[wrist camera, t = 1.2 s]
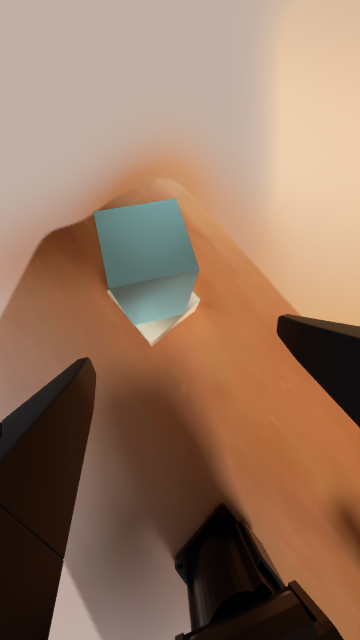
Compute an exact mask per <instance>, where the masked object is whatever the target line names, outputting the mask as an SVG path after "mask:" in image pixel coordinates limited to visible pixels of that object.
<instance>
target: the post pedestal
mask: <svg viewBox="0 0 360 640" xmlns="http://www.w3.org/2000/svg"><path fill="white" fill-rule="evenodd" d="M107 293H108V294H109V296H110V297H111V298H112V300H113V301H114V302H115V304H116V305H117V306H118V307H119V309H120V310H121V311H122V312H123V313H124V314H125V312H124V311H123V309H122V308H121V306H120V305H119V303H118V302H117V300H116V299H115V297H114V296H113V294H112V293H111V291H110V290H108V291H107ZM199 301H200V299H199V298H198V297H197V296H196V295H195V294H194V293H193V291H192V294H191V297H190V300H189V303H188V306H187V309H186V313H185V314H181V315H177V316H172V317H168V318H164V319H160V320H156V321H152V322H148V323H143V324H139V325H135V328H136V329H137V330H138V331H139V332H140V334H141V335H142V336H143V337H144V338H145V340H146V341H147V342H148V343H149V344H150V346H151V347H152V346H153V345H154V344H155V343H156V342H158V341H159V340H160V339H161V338H162V337H164V336H165V335H166V334H167V333H168V332H170V331H171V330H172V329H173V328H174V327H176V326H177V325H178V324H179V323H180V322H182V321H183V320H184V319H185V318H186V317H188V316H189V315H190V314H191V313H192V312H194V311H195V310H196V308H197V306H198V303H199ZM125 316H126V317H127V315H126V314H125ZM127 318H128V317H127ZM128 319H129V318H128ZM129 320H130V319H129ZM130 322H131V321H130ZM131 323H132V322H131Z"/></svg>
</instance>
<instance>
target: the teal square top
mask: <svg viewBox="0 0 360 640" xmlns="http://www.w3.org/2000/svg"><path fill="white" fill-rule="evenodd" d="M94 217H95V222H96V227H97V232H98V237H99V243H100V248H101V253H102V258H103V263H104V268H105V273H106V278H107V284H108V289H109V290H110V291H111V293H112V294H113V296H114V297H115V299H116V300H117V302H118V303H119V305H120V306H121V308H122V309H123V311H124V312H125V314H126V315H127V317H128V318H129V319H130V321H131V322H132V324H133V325H134V326H135V325H139V324H143V323H148V322H152V321H156V320H160V319H164V318H168V317H172V316H177V315H181V314H185V313H186V309H187V306H188V303H189V300H190V297H191V294H192V291H193V287H194V284H195V281H196V278H197V275H198V272H199V267H198V264H197V261H196V258H195V255H194V252H193V248H192V245H191V242H190V239H189V236H188V233H187V230H186V227H185V224H184V221H183V218H182V215H181V212H180V209H179V206H178V202H177V199H170V200H163V201H157V202H151V203H144V204H138V205H132V206H125V207H119V208H113V209H107V210H100V211H94Z"/></svg>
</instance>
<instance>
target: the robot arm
mask: <svg viewBox="0 0 360 640" xmlns="http://www.w3.org/2000/svg"><path fill="white" fill-rule="evenodd" d="M277 334H278V336H279V338H280V339H281V340H282V341H283V343H284V344H285V345H286V347H287V348H288V349H289V351H290V352H291V353H292V355H293V356H294V357H295V358H296V360H297V361H298V362H299V363H300V364H301V365H302V366H303V367H304V368H305V369H306V371H307V372H308V373H309V374H310V375H311V376H312V377H313V378H314V379H315V380H316V381H317V382H318V383H319V385H320V386H321V387H322V388H323V389H324V390H325V391H326V392H327V393H328V394H329V395H330V396H331V397H332V398H333V400H334V401H335V402H336V403H337V404H338V405H339V406H340V407H341V408H342V409H343V410H344V411H345V412H346V414H347V415H348V416H349V417H350V418H351V419H352V420H353V421H354V422H355V423H356V424H357V425H358V426H359V428H360V327H359V326H353V325H347V324H342V323H335V322H330V321H324V320H318V319H313V318H306V317H301V316H295V315H289V314H286V315H281V316H279V318H278V323H277ZM95 386H96V372H95V370H94V367H93V365H92V362H91V360H90V359H89V358H88V357H86V358H81V359H78V360H77V361H76V362H74V363H73V364H72V365H71V366H69V367H68V368H67V369H66V370H64V371H63V372H62V373H61V374H59V375H58V376H57V377H56V378H54V379H53V380H52V381H51V382H49V383H48V384H47V385H46V386H44V387H43V388H42V389H41V390H39V391H38V392H37V393H36V394H35V395H33V396H32V397H31V398H30V399H28V400H27V401H26V402H25V403H23V404H22V405H21V406H20V407H18V408H17V409H16V410H15V411H13V412H12V413H11V414H10V415H8V416H7V417H6V418H5V419H3V420H2V423H1V422H0V640H48V637H49V632H50V626H51V621H52V617H53V611H54V607H55V601H56V597H57V592H58V586H59V581H60V576H61V571H62V566H63V559H64V555H65V550H66V545H67V540H68V535H69V530H70V525H71V520H72V515H73V510H74V505H75V500H76V495H77V490H78V485H79V480H80V475H81V470H82V465H83V460H84V455H85V450H86V445H87V440H88V435H89V430H90V425H91V420H92V415H93V409H94V399H95ZM223 509H225V512H224V513H221V511H222V510H223ZM180 561H181V562H182V564H181V565H180V564H178V562H180ZM175 569H176V571H177V572H178V574H179V575H180V577H181V578H182V579H183V581H184V582H185V584H186V585H187V591H188V601H189V612H190V622H191V632H189V633H187V634H185V635H184V633H181V634H179V635H177V636H175V640H343V638H342V636H341V635H340V633H339V632H338V630H337V629H336V627H335V626H334V625H333V623H332V622H331V621H330V620H329V618H328V617H327V616H326V615H325V614H324V613H323V612H322V610H321V609H320V608H319V607H318V606H317V605H316V604H315V602H314V601H313V600H312V599H311V598H310V597H309V596H308V594H307V593H306V592H305V591H304V590H303V589H302V588H301V586H300V585H299V584H298V583H297V582H296V581H295V580H294V581H292V582H289V583H288V586H287V587H286V586H285V584H284V582H283V581H282V579H281V577H280V575H279V573H278V572H277V570H276V568H275V566H274V565H273V563H272V561H271V559H270V557H269V556H268V554H267V552H266V550H265V549H264V547H263V545H262V543H261V542H260V541H259V540H258V538H257V537H256V536H255V534H254V533H253V532H252V531H251V529H250V528H249V527H248V526H247V524H246V523H245V522H244V521H243V520H240V521H238V520H237V519H236V517H235V516H234V515H233V513H232V512H231V511H230V510H229V508H228V507H227V506H226V505H225V504H220V505H219V506H218V507H217V508H216V510H215V511H214V512H213V513H212V514H211V516H210V517H209V518H208V519H207V520H206V521H205V523H204V524H203V525H202V526H201V527H200V529H199V530H198V531H197V532H196V533H195V534H194V536H193V537H192V538H191V539H190V540H189V542H188V543H187V544H186V545H185V546H184V547H183V549H182V550H181V551H180V552H179V553H178V554H177V556H176V557H175Z"/></svg>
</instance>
